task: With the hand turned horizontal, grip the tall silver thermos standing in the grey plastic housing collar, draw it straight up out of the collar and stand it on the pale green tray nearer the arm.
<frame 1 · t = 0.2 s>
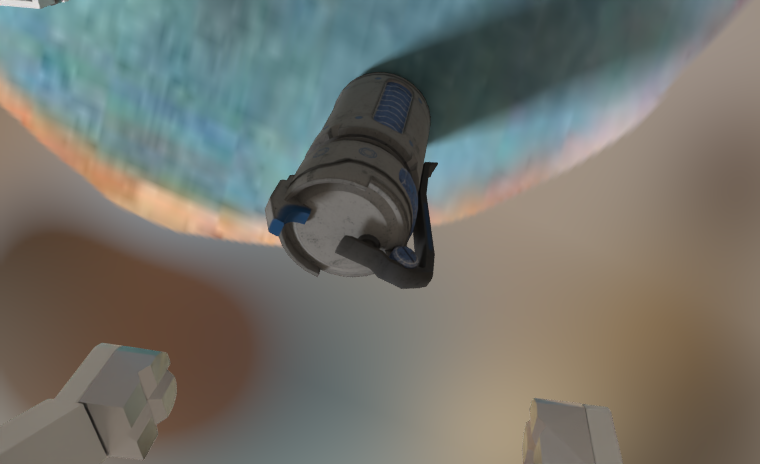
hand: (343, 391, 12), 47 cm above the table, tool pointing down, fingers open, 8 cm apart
beverage bottle: (391, 117, 60), on the table
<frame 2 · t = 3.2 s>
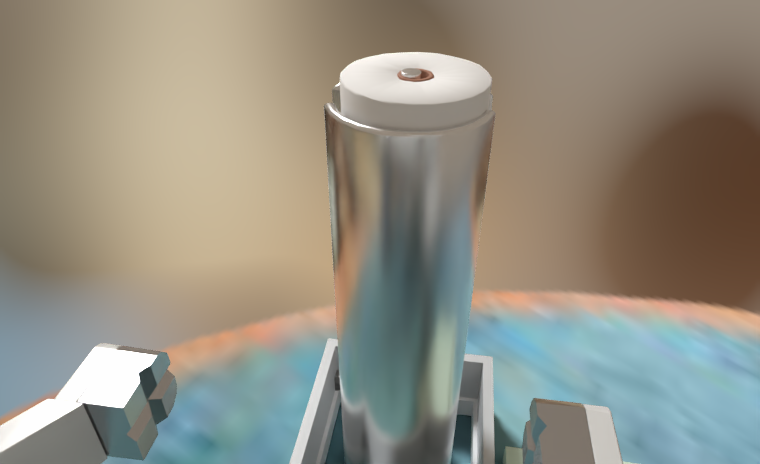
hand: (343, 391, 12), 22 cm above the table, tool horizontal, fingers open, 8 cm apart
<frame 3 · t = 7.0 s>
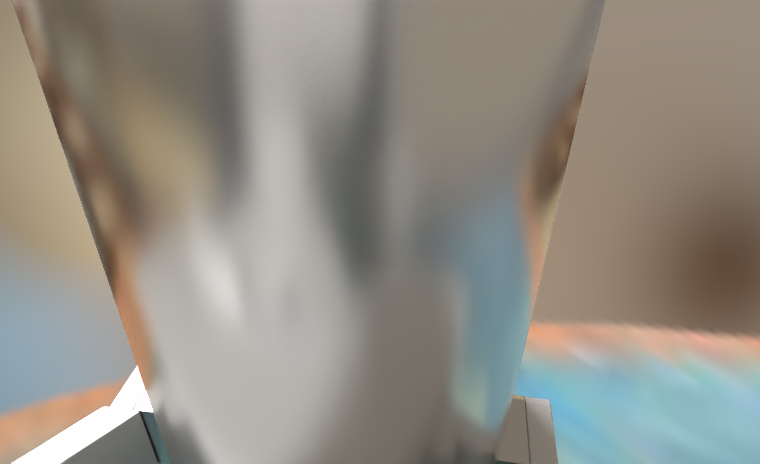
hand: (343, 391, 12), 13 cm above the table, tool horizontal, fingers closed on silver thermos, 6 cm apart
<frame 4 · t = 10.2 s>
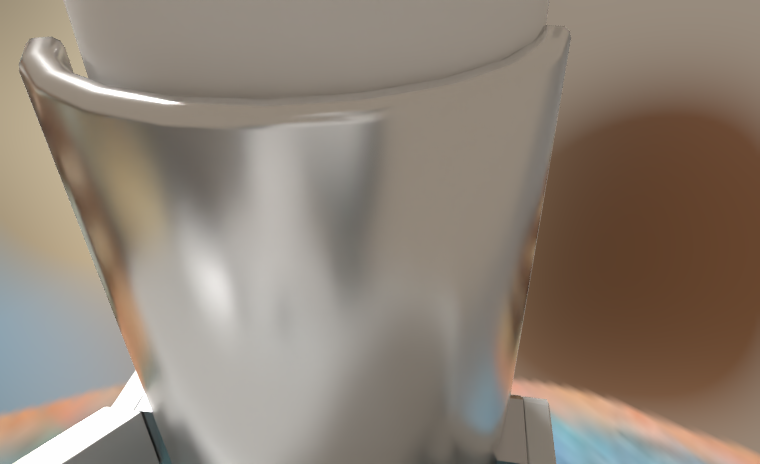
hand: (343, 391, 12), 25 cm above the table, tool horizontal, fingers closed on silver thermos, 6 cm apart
when the fingers open (16 cm above the table, at t = 13.4 s): silver thermos stays where it is, resting on tray.
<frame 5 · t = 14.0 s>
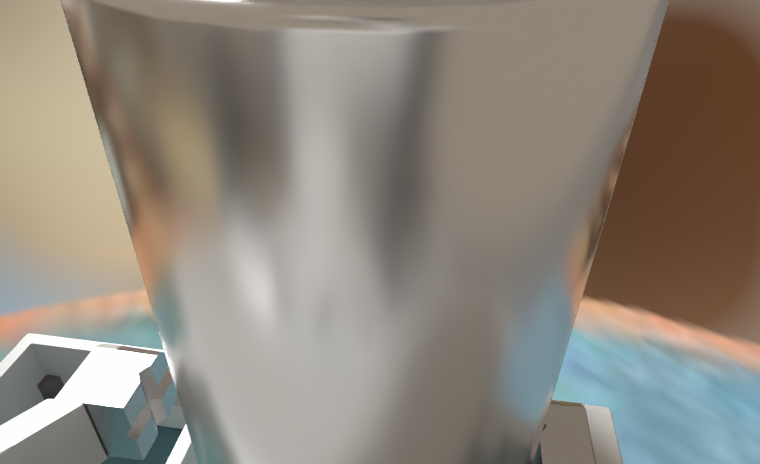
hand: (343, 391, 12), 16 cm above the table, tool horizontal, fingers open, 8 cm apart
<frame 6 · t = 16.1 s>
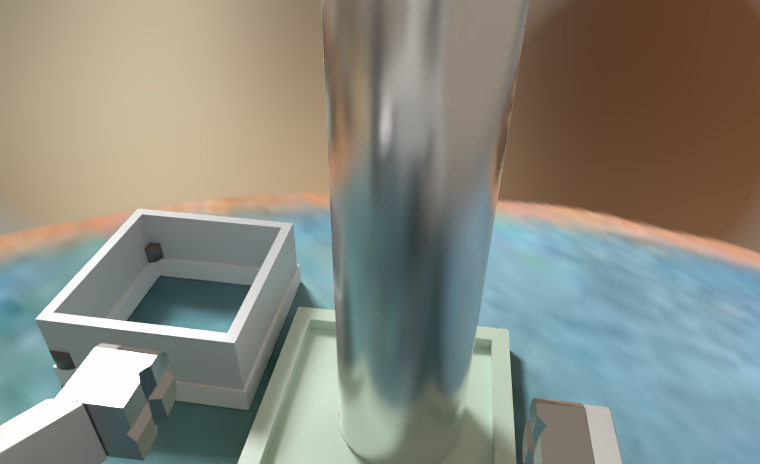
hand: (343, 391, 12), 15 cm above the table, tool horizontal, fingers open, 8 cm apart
silver thermos: (399, 418, 30), resting on tray
housing: (194, 327, 35), on the table
tray: (386, 420, 30), on the table
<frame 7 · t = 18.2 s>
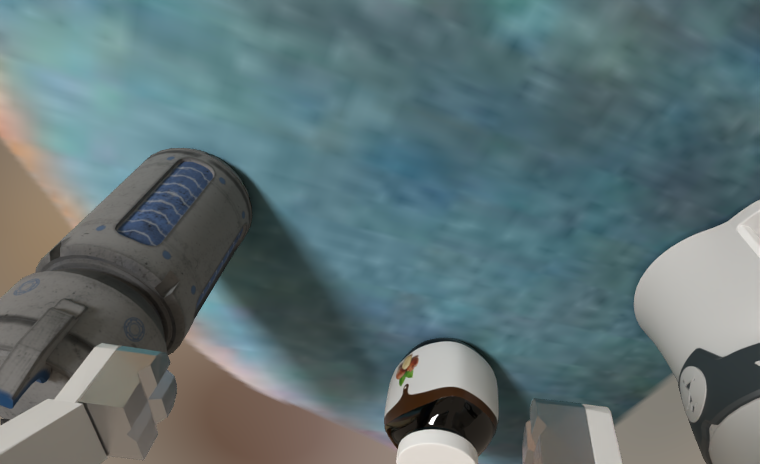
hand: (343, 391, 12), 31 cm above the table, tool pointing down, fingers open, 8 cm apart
spread jar: (448, 375, 57), on the table
beverage bottle: (199, 200, 49), on the table
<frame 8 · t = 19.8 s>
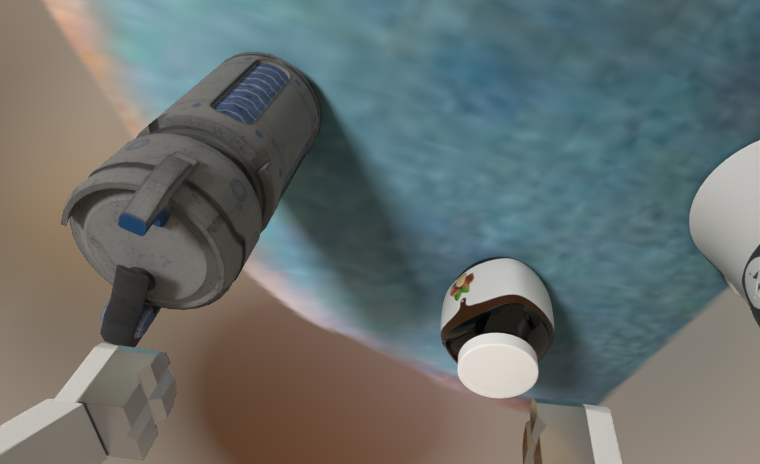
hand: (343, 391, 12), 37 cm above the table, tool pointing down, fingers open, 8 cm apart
spread jar: (497, 298, 58), on the table
beverage bottle: (266, 112, 50), on the table
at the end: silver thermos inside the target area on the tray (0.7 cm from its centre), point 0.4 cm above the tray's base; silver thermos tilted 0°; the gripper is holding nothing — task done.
